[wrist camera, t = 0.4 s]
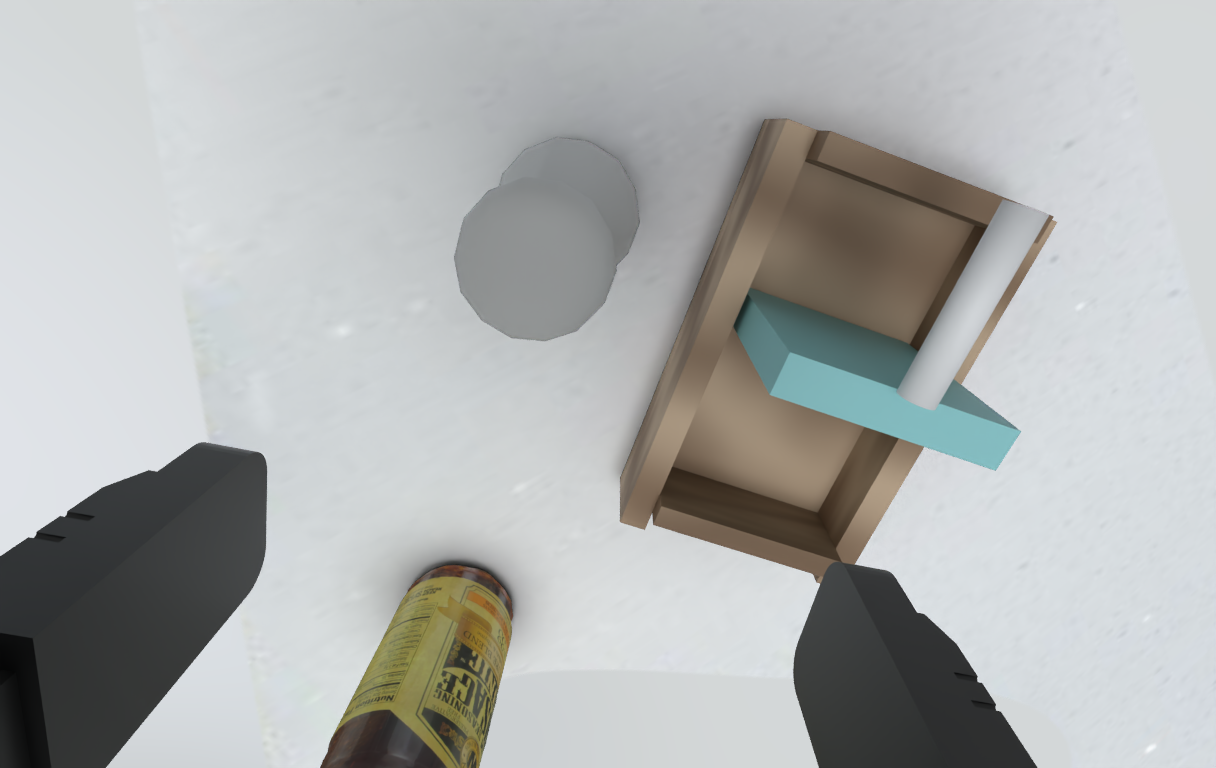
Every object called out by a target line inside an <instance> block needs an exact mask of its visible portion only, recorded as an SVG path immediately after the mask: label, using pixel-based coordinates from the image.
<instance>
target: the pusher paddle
mask: <svg viewBox="0 0 1216 768" xmlns="http://www.w3.org/2000/svg"><path fill="white" fill-rule="evenodd" d="M1048 217H1049V215H1048V214H1046V213H1044V212H1041V211H1039V210H1036V209H1033V208H1031V207H1028V206H1025V205H1022V204H1018V203H1015V202H1011V201H1008V200H1002V202H1001V204H1000V205H999V207H998V209H997V211H996V213H995V214H994V216H993V218H992V220H991V222H990V223H989V225H988V227H987V229H986V231H985V233H984V234H983V236H982V238H981V240H980V242H979V243H978V245H977V247H976V249H975V251H974V252H973V254H972V256H971V258H970V260H969V261H968V263H967V265H966V267H965V269H964V270H963V272H962V274H961V276H960V278H959V279H958V281H957V283H956V285H955V287H954V288H953V290H952V292H951V294H950V296H949V297H948V299H947V301H946V303H945V305H944V306H943V308H942V310H941V312H940V314H939V315H938V317H937V319H936V321H935V323H934V324H933V326H932V328H931V330H930V332H929V334H928V335H927V337H926V339H925V341H924V343H923V344H922V346H921V348H920V350H919V352H918V351H917V350H916V349H914V348H913V347H912V346H911V345H909V344H908V343H906V342H903V341H900V340H898V339H895V338H892V337H889V336H886V335H883V334H880V333H878V332H875V331H872V330H869V329H866V328H863V327H861V326H858V325H855V324H852V323H849V322H846V321H843V320H841V319H838V318H835V317H832V316H829V315H826V314H824V313H821V312H818V311H815V310H812V309H809V308H807V307H804V306H801V305H798V304H795V303H792V302H789V301H787V300H784V299H781V298H778V297H775V296H772V295H770V294H767V293H764V292H761V291H758V290H755V289H752V288H749V291H748V293H747V295H746V297H745V300H744V302H743V304H742V307H741V309H740V311H739V314H738V316H737V318H736V320H735V323H734V325H733V327H734V329H735V331H736V333H737V335H738V337H739V339H740V340H741V342H742V344H743V346H744V348H745V350H746V352H747V353H748V355H749V357H750V359H751V361H752V363H753V365H754V367H755V368H756V370H757V372H758V374H759V376H760V378H761V380H762V382H763V383H764V385H765V387H766V389H767V391H768V393H769V395H771V396H774V397H777V398H780V399H783V400H786V401H789V402H792V403H795V404H798V405H801V406H804V407H807V408H810V409H813V410H816V411H819V412H822V413H825V414H828V415H831V416H834V417H837V418H840V419H843V420H846V421H849V422H852V423H855V424H858V425H861V426H864V427H867V428H870V429H873V430H876V431H879V432H882V433H885V434H888V435H891V436H894V437H897V438H900V439H903V440H906V441H909V442H912V443H915V444H918V445H921V446H924V447H927V448H930V449H933V450H936V451H939V452H942V453H945V454H948V455H951V456H954V457H957V458H960V459H963V460H966V461H968V462H971V463H974V464H977V465H980V466H983V467H986V468H989V469H992V470H995V471H996V469H997V468H998V466H999V465H1000V463H1001V462H1002V460H1003V459H1004V457H1005V456H1006V454H1007V453H1008V451H1009V449H1010V448H1011V446H1012V445H1013V443H1014V442H1015V440H1016V439H1017V437H1018V436H1019V434H1020V433H1021V431H1020V430H1019V429H1017V428H1016V427H1015V426H1013V425H1012V424H1011V423H1010V422H1008V421H1007V420H1006V419H1004V418H1003V417H1002V416H1001V415H999V414H998V413H997V412H995V411H994V410H993V409H992V408H990V407H989V406H988V405H986V404H985V403H984V402H983V401H981V400H980V399H979V398H977V397H976V396H975V395H974V394H972V393H971V392H970V391H968V390H967V389H966V388H965V387H963V386H962V385H961V384H959V383H958V382H957V381H956V380H954V377H955V376H956V374H957V372H958V370H959V369H960V367H961V365H962V364H963V362H964V360H965V358H966V357H967V355H968V353H969V352H970V350H971V348H972V346H973V345H974V343H975V341H976V340H977V338H978V336H979V335H980V333H981V331H982V329H983V328H984V326H985V324H986V323H987V321H988V319H989V317H990V316H991V314H992V312H993V311H994V309H995V307H996V306H997V304H998V302H999V300H1000V299H1001V297H1002V295H1003V294H1004V292H1005V290H1006V288H1007V287H1008V285H1009V283H1010V282H1011V280H1012V278H1013V276H1014V275H1015V273H1016V271H1017V270H1018V268H1019V266H1020V265H1021V263H1022V261H1023V259H1024V258H1025V256H1026V254H1027V253H1028V251H1029V249H1030V247H1031V246H1032V244H1033V242H1034V241H1035V239H1036V237H1037V236H1038V234H1039V232H1040V230H1041V229H1042V227H1043V225H1044V224H1045V222H1046V220H1047V218H1048Z"/></svg>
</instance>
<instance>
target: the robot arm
mask: <svg viewBox="0 0 1216 768" xmlns="http://www.w3.org/2000/svg"><path fill="white" fill-rule="evenodd" d="M266 505H267V465H266V460H265V458H264V456H263V455H262V454H261V453H259V452H254V451H249V450H243V449H238V448H233V447H227V446H222V445H216V444H211V443H206V442H203V443H198V444H196V445H194V446H193V447H191V448H190V449H188V450H187V451H186V452H184V453H183V454H182V455H180V456H179V457H177V458H176V459H175V460H173V461H172V462H170V463H169V464H168V465H166V466H165V467H164V468H162V469H161V470H159V471H158V472H155V471H149V470H148V471H146V472H143V473H140V474H138V475H135V476H132V477H130V478H127V479H124V480H122V481H119V482H116V483H113V484H111V485H108V486H105V487H103V488H101V489H100V490H99V491H97V492H96V493H94V494H92V495H91V496H89V497H88V498H87V499H85V500H83V501H82V502H80V503H79V504H77V505H76V506H75V507H73V508H72V509H70V510H69V511H68V512H67V515H66V516H65V517H62V516H60V517H58V518H57V519H55V520H54V521H52V522H51V523H49V524H48V525H46V526H45V527H43V528H42V529H40V530H39V531H37V534H36V536H35V537H34V538H27V539H26V540H24V541H22V542H21V543H19V544H18V545H16V546H15V547H13V548H12V549H11V550H9V551H8V552H6V553H5V554H3V555H2V556H0V768H106V767H107V765H108V764H109V763H110V762H111V761H112V759H113V758H114V757H115V756H116V755H117V753H118V752H119V751H120V750H121V748H122V747H123V746H124V745H125V744H126V742H127V741H128V740H129V739H130V737H131V736H132V735H133V734H134V733H135V731H136V730H137V729H138V728H139V727H140V725H141V724H142V723H143V722H144V720H145V719H146V718H147V717H148V715H149V714H150V713H151V712H152V711H153V709H154V708H155V707H156V706H157V705H158V703H159V702H160V701H161V700H162V699H163V697H164V696H165V695H166V694H167V692H168V691H169V690H170V689H171V687H172V686H173V685H174V684H175V683H176V682H177V680H178V679H179V678H180V677H181V675H182V674H183V673H184V672H185V670H186V669H187V668H188V667H189V666H190V665H191V663H192V662H193V661H194V659H195V658H196V657H197V656H198V655H199V654H200V652H201V651H202V650H203V649H204V647H205V646H206V645H207V644H208V643H209V641H210V640H211V639H212V638H213V637H214V635H215V634H216V633H217V632H218V630H219V629H220V628H221V627H222V626H223V624H224V623H225V622H226V621H227V620H228V618H229V617H230V616H231V615H232V613H233V612H234V611H235V610H236V609H237V607H238V606H239V605H240V604H241V603H242V601H243V600H244V599H245V598H246V596H247V595H248V594H249V592H250V591H251V589H252V588H253V586H254V584H255V582H256V580H257V578H258V576H259V573H260V571H261V568H262V565H263V561H264V557H265V550H266ZM793 674H794V685H795V690H796V695H797V698H798V701H799V704H800V707H801V711H802V714H803V717H804V720H805V724H806V727H807V730H808V733H809V736H810V740H811V743H812V746H813V750H814V753H815V756H816V759H817V762H818V766H819V768H1037V766H1036V765H1035V763H1034V762H1033V760H1032V759H1031V757H1030V756H1029V754H1028V753H1027V751H1026V750H1025V748H1024V746H1023V745H1022V743H1021V742H1020V740H1019V739H1018V737H1017V736H1016V734H1015V733H1014V731H1013V730H1012V728H1011V727H1010V725H1009V724H1008V722H1007V720H1006V719H1005V717H1004V716H1003V715H1002V713H1001V712H999V711H996V709H995V706H996V704H995V702H994V701H993V699H992V698H991V696H990V695H989V693H988V691H987V690H986V688H985V687H984V685H983V684H982V683H979V682H977V677H978V676H977V675H976V673H975V672H974V670H973V669H972V667H971V666H970V664H969V663H968V661H967V659H966V658H965V656H964V655H963V653H962V652H961V650H960V649H959V647H958V646H957V644H956V643H955V642H954V641H953V640H952V639H950V638H949V637H948V636H947V635H946V634H945V633H944V632H943V631H942V630H941V629H940V628H939V627H938V626H936V625H935V624H934V623H933V622H932V621H931V620H930V619H929V618H928V617H927V616H926V615H925V614H921V613H917V612H916V610H915V609H914V607H913V605H912V604H911V602H910V601H909V599H908V597H907V596H906V594H905V592H904V591H903V589H902V588H901V586H900V584H899V583H898V581H897V579H896V578H895V577H894V575H893V574H892V573H891V572H889V571H886V570H880V569H875V568H870V567H864V566H859V565H853V564H848V563H843V562H833V563H832V564H831V565H830V566H829V567H828V568H827V570H826V572H825V574H824V576H823V579H822V581H821V584H820V587H819V589H818V592H817V594H816V597H815V600H814V602H813V605H812V607H811V610H810V613H809V615H808V618H807V620H806V623H805V626H804V628H803V631H802V633H801V636H800V639H799V641H798V644H797V647H796V651H795V657H794V669H793Z"/></svg>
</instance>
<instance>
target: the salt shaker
mask: <svg viewBox="0 0 1216 768" xmlns="http://www.w3.org/2000/svg"><path fill="white" fill-rule="evenodd" d="M638 226H639V215H638V207H637V198H636V190H635V188H634V186H633V184H632V183H631V181H630V179H629V177H628V176H627V174H626V172H625V170H624V169H623V167H622V165H621V163H620V161H619V160H618V159H616V158H615V157H613V156H612V155H610V154H608V153H607V152H605V151H604V150H602V149H601V148H599V147H597V146H596V145H594V144H593V143H591V142H589V141H582V140H574V139H567V138H560V137H555V138H552V139H550V140H547V141H545V142H542V143H540V144H537V145H535V146H532V147H530V148H527V149H525V150H524V151H523V152H522V153H521V154H520V155H519V156H518V158H517V159H516V160H515V161H514V162H513V163H512V164H511V165H510V166H509V168H508V169H507V170H506V171H505V172H504V173H503V174H502V178H501V182H500V186H499V187H497V188H494V189H492V190H489V191H488V192H487V193H486V194H485V195H484V196H483V197H482V198H481V200H480V201H479V202H478V203H477V204H476V205H475V206H474V207H473V208H472V209H471V211H470V212H469V213H468V214H467V215H466V216H465V217H464V220H463V223H462V227H461V231H460V235H459V239H458V243H457V247H456V251H455V256H454V260H455V265H456V270H457V276H458V281H459V286H460V291H461V293H462V295H463V296H464V297H465V299H466V300H467V301H468V303H469V304H470V305H471V307H472V308H473V309H474V311H475V312H476V313H477V315H478V316H479V317H480V319H481V320H482V321H484V322H485V323H487V324H489V325H490V326H492V327H494V328H495V329H497V330H499V331H501V332H502V333H504V334H506V335H507V336H509V337H511V338H517V339H527V340H537V341H547V340H550V339H554V338H557V337H560V336H563V335H566V334H569V333H572V332H575V331H577V330H578V329H579V328H580V327H581V326H582V325H583V324H584V323H585V322H586V321H587V320H588V319H589V318H590V317H591V316H592V315H593V314H594V313H595V312H596V311H597V310H598V309H599V308H600V307H601V306H602V305H603V304H604V303H605V301H606V298H607V295H608V293H609V290H610V287H611V284H612V282H613V279H614V276H615V273H616V271H617V270H616V265H617V264H618V263H619V262H620V261H621V260H622V259H623V258H624V257H625V256H626V255H627V254H628V252H629V249H630V247H631V244H632V241H633V239H634V236H635V234H636V231H637V228H638Z"/></svg>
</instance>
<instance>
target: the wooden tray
mask: <svg viewBox="0 0 1216 768" xmlns="http://www.w3.org/2000/svg"><path fill="white" fill-rule="evenodd" d="M1002 200H1008V201H1011V202H1014V201H1012V200H1009V199H1006V198H1004V197H1001V196H999V195H996V194H993V193H991V192H988V191H986V190H983V189H980V188H978V187H975V186H972V185H970V184H967V183H965V182H962V181H959V180H957V179H954V178H952V177H949V176H946V175H944V174H941V173H939V172H936V171H933V170H931V169H928V168H925V167H923V166H920V165H918V164H915V163H912V162H910V161H907V160H905V159H902V158H899V157H897V156H894V155H892V154H889V153H886V152H884V151H881V150H878V149H876V148H873V147H871V146H868V145H865V144H863V143H860V142H858V141H855V140H852V139H850V138H847V137H844V136H842V135H839V134H837V133H834V132H831V131H818V130H815V129H813V128H810V127H807V126H805V125H802V124H800V123H797V122H794V121H792V120H789V119H765V120H764V123H763V125H762V128H761V130H760V133H759V135H758V137H757V140H756V142H755V145H754V147H753V150H752V152H751V155H750V157H749V160H748V162H747V165H746V167H745V170H744V172H743V175H742V177H741V180H740V182H739V185H738V187H737V190H736V192H735V195H734V197H733V200H732V202H731V205H730V207H729V209H728V212H727V214H726V217H725V219H724V222H723V224H722V227H721V229H720V232H719V234H718V237H717V239H716V242H715V244H714V247H713V249H712V252H711V254H710V257H709V259H708V262H707V264H706V267H705V269H704V272H703V274H702V277H701V279H700V282H699V284H698V286H697V289H696V291H695V294H694V296H693V299H692V301H691V304H690V306H689V309H688V311H687V314H686V316H685V319H684V321H683V324H682V326H681V329H680V331H679V334H678V336H677V339H676V341H675V344H674V346H673V349H672V351H671V354H670V356H669V358H668V361H667V363H666V366H665V368H664V371H663V373H662V376H661V378H660V381H659V383H658V386H657V388H656V391H655V393H654V396H653V398H652V401H651V403H650V406H649V408H648V411H647V413H646V416H645V418H644V421H643V423H642V426H641V428H640V430H639V433H638V435H637V438H636V440H635V443H634V445H633V448H632V450H631V453H630V455H629V458H628V460H627V463H626V465H625V468H624V470H623V473H622V475H621V478H620V522H621V523H624V524H628V525H631V526H634V527H637V528H641V529H644V530H645V528H646V526H647V523H648V521H649V519H650V516H651V514H653V525H656V526H659V527H662V528H665V529H669V530H672V531H675V532H678V533H682V534H685V535H688V536H691V537H695V538H698V539H701V540H704V541H708V542H711V543H714V544H717V545H721V546H724V547H727V548H731V549H734V550H737V551H740V552H744V553H747V554H750V555H753V556H757V557H760V558H763V559H766V560H770V561H773V562H776V563H779V564H783V565H786V566H789V567H792V568H796V569H799V570H802V571H805V572H809V573H812V574H813V575H814V578H815V580H816V582H817V583H820V584H821V581H822V579H823V576H824V574H825V572H826V570H827V568H828V567H829V566H830V565H831V564H832V563H833V562H843V563H848V564H853V565H854V564H855V563H856V561H857V559H858V558H859V556H860V554H861V553H862V551H863V549H864V547H865V546H866V544H867V542H868V541H869V539H870V537H871V536H872V534H873V532H874V531H875V529H876V527H877V526H878V524H879V522H880V520H881V519H882V517H883V515H884V514H885V512H886V510H887V509H888V507H889V505H890V504H891V502H892V500H893V499H894V497H895V495H896V493H897V492H898V490H899V488H900V487H901V485H902V483H903V482H904V480H905V478H906V477H907V475H908V473H909V472H910V470H911V468H912V466H913V465H914V463H915V461H916V460H917V458H918V456H919V455H920V453H921V451H922V450H923V448H924V446H921V445H918V444H915V443H912V442H909V441H906V440H903V439H900V438H897V437H894V436H891V435H888V434H885V433H882V432H879V431H876V430H873V429H870V428H867V427H864V426H861V425H858V424H855V423H852V422H849V421H846V420H843V419H840V418H837V417H834V416H831V415H828V414H825V413H822V412H819V411H816V410H813V409H810V408H807V407H804V406H801V405H798V404H795V403H792V402H789V401H786V400H783V399H780V398H777V397H774V396H771V395H769V393H768V391H767V389H766V387H765V385H764V383H763V382H762V380H761V378H760V376H759V374H758V372H757V370H756V368H755V367H754V365H753V363H752V361H751V359H750V357H749V355H748V353H747V352H746V350H745V348H744V346H743V344H742V342H741V340H740V339H739V337H738V335H737V333H736V331H735V329H734V327H733V325H734V323H735V320H736V318H737V316H738V314H739V311H740V309H741V307H742V304H743V302H744V300H745V297H746V295H747V293H748V291H749V288H752V289H755V290H758V291H761V292H764V293H767V294H770V295H772V296H775V297H778V298H781V299H784V300H787V301H789V302H792V303H795V304H798V305H801V306H804V307H807V308H809V309H812V310H815V311H818V312H821V313H824V314H826V315H829V316H832V317H835V318H838V319H841V320H843V321H846V322H849V323H852V324H855V325H858V326H861V327H863V328H866V329H869V330H872V331H875V332H878V333H880V334H883V335H886V336H889V337H892V338H895V339H898V340H900V341H903V342H906V343H908V344H909V345H911V346H912V347H913V348H914V349H916V350H917V351H918V352H919V350H920V348H921V346H922V344H923V343H924V341H925V339H926V337H927V335H928V334H929V332H930V330H931V328H932V326H933V324H934V323H935V321H936V319H937V317H938V315H939V314H940V312H941V310H942V308H943V306H944V305H945V303H946V301H947V299H948V297H949V296H950V294H951V292H952V290H953V288H954V287H955V285H956V283H957V281H958V279H959V278H960V276H961V274H962V272H963V270H964V269H965V267H966V265H967V263H968V261H969V260H970V258H971V256H972V254H973V252H974V251H975V249H976V247H977V245H978V243H979V242H980V240H981V238H982V236H983V234H984V233H985V231H986V229H987V227H988V225H989V223H990V222H991V220H992V218H993V216H994V214H995V213H996V211H997V209H998V207H999V205H1000V204H1001V202H1002ZM1015 203H1017V202H1015ZM1018 204H1020V203H1018ZM1052 219H1053V216H1051V215H1049V217H1048V218H1047V220H1046V222H1045V224H1044V225H1043V227H1042V229H1041V230H1040V232H1039V234H1038V236H1037V237H1036V239H1035V241H1034V242H1033V244H1032V246H1031V247H1030V249H1029V251H1028V253H1027V254H1026V256H1025V258H1024V259H1023V261H1022V263H1021V265H1020V266H1019V268H1018V270H1017V271H1016V273H1015V275H1014V276H1013V278H1012V280H1011V282H1010V283H1009V285H1008V287H1007V288H1006V290H1005V292H1004V294H1003V295H1002V297H1001V299H1000V300H999V302H998V304H997V306H996V307H995V309H994V311H993V312H992V314H991V316H990V317H989V319H988V321H987V323H986V324H985V326H984V328H983V329H982V331H981V333H980V335H979V336H978V338H977V340H976V341H975V343H974V345H973V346H972V348H971V350H970V352H969V353H968V355H967V357H966V358H965V360H964V362H963V364H962V365H961V367H960V369H959V370H958V372H957V374H956V376H955V377H954V380H956V381H957V382H958V383H959V384H962V382H963V380H964V379H965V377H966V375H967V374H968V372H969V370H970V369H971V367H972V365H973V364H974V362H975V360H976V358H977V357H978V355H979V353H980V352H981V350H982V348H983V347H984V345H985V343H986V342H987V340H988V338H989V337H990V335H991V333H992V331H993V330H994V328H995V326H996V325H997V323H998V321H999V320H1000V318H1001V316H1002V315H1003V313H1004V311H1005V310H1006V308H1007V306H1008V304H1009V303H1010V301H1011V299H1012V298H1013V296H1014V294H1015V293H1016V291H1017V289H1018V288H1019V286H1020V284H1021V283H1022V281H1023V279H1024V277H1025V276H1026V274H1027V272H1028V271H1029V269H1030V267H1031V266H1032V264H1033V262H1034V261H1035V259H1036V257H1037V256H1038V254H1039V252H1040V250H1041V249H1042V247H1043V245H1044V244H1045V242H1046V240H1047V239H1048V237H1049V235H1050V234H1051V232H1052V230H1053V229H1054V227H1055V225H1056V223H1057V222H1056V221H1053V220H1052Z"/></svg>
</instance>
